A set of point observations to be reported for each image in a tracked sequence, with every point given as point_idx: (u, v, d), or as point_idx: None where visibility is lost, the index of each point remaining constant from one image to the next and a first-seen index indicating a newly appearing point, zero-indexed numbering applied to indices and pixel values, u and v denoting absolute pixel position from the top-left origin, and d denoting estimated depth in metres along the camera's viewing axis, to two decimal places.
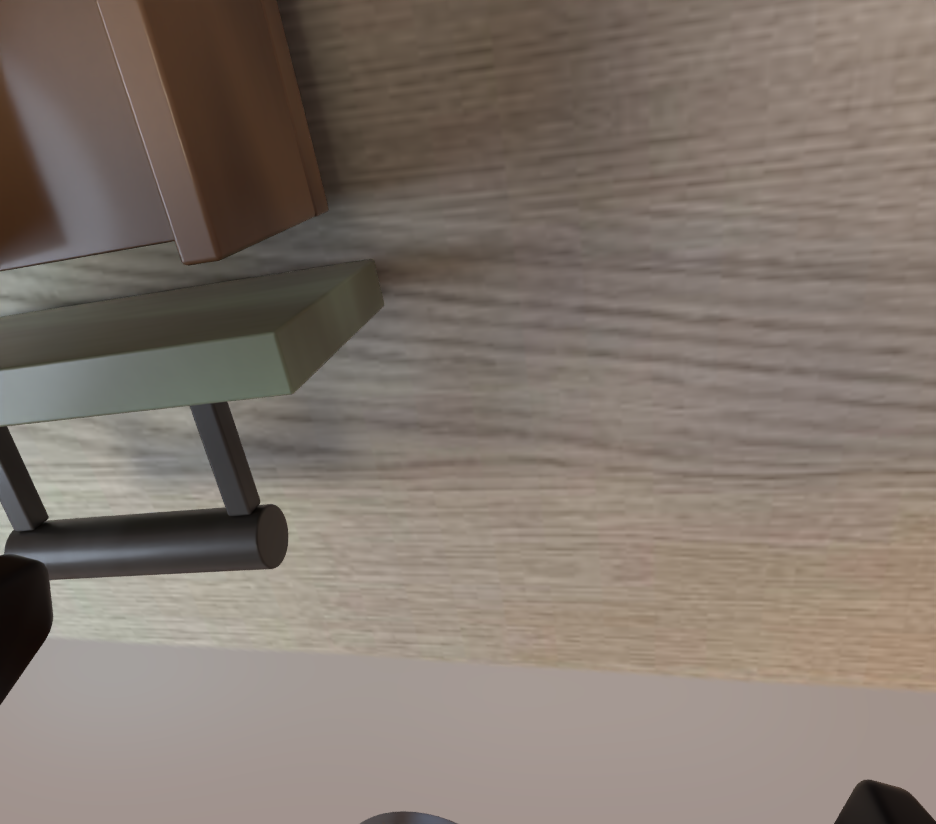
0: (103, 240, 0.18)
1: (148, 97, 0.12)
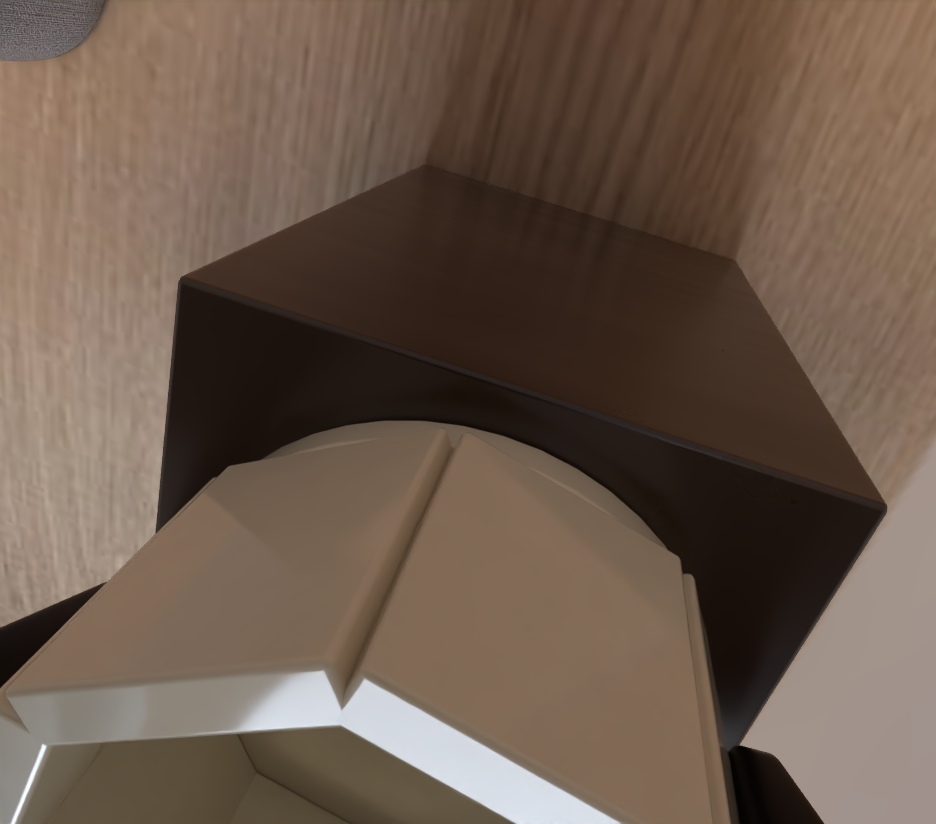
0: None
1: None
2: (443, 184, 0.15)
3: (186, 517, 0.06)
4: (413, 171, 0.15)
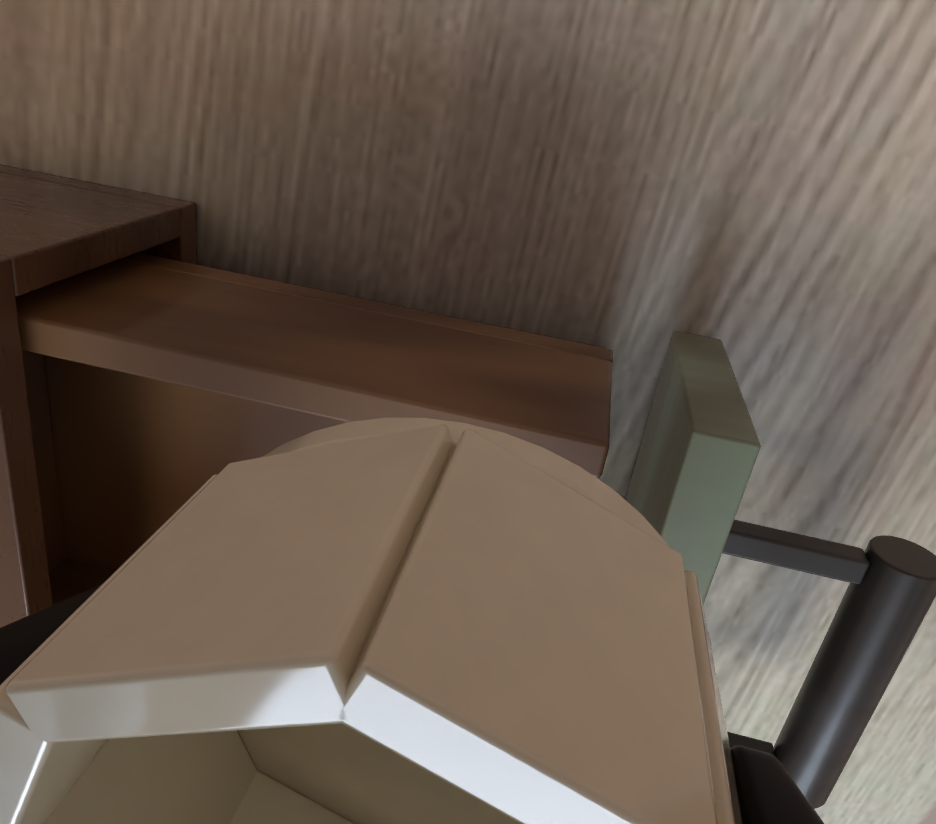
0: None
1: None
2: None
3: (187, 514, 0.06)
4: None
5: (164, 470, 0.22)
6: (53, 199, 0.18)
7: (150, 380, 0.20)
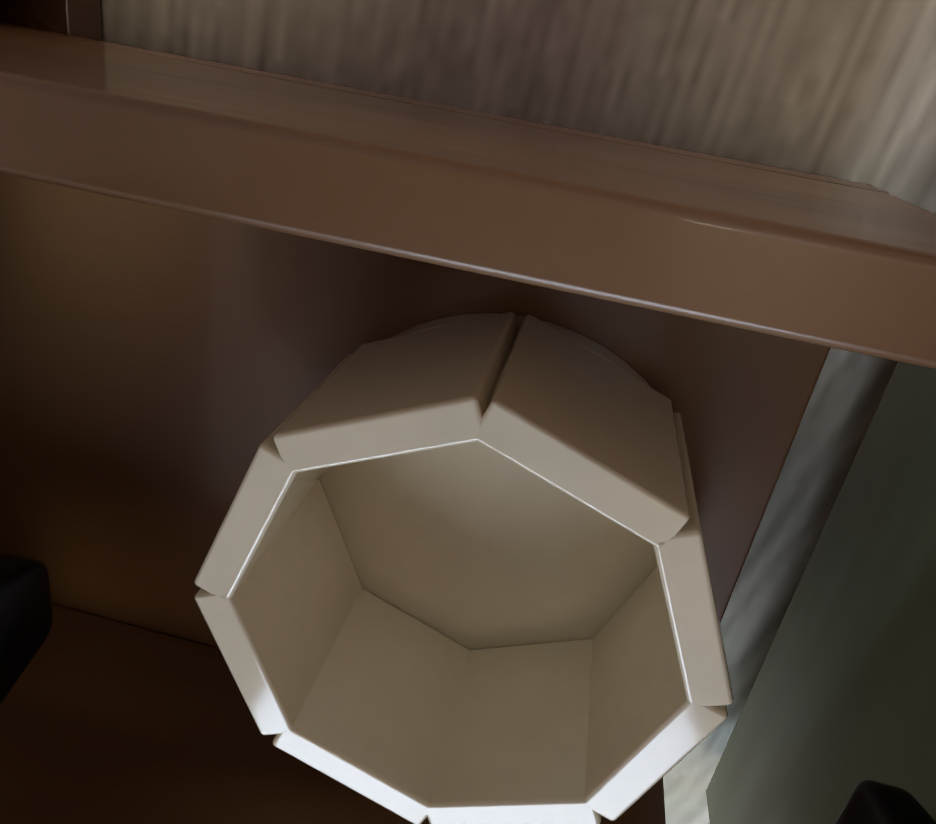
0: (725, 557, 0.11)
1: (695, 263, 0.05)
2: None
3: (345, 366, 0.10)
4: None
5: (51, 420, 0.13)
6: None
7: (17, 258, 0.12)
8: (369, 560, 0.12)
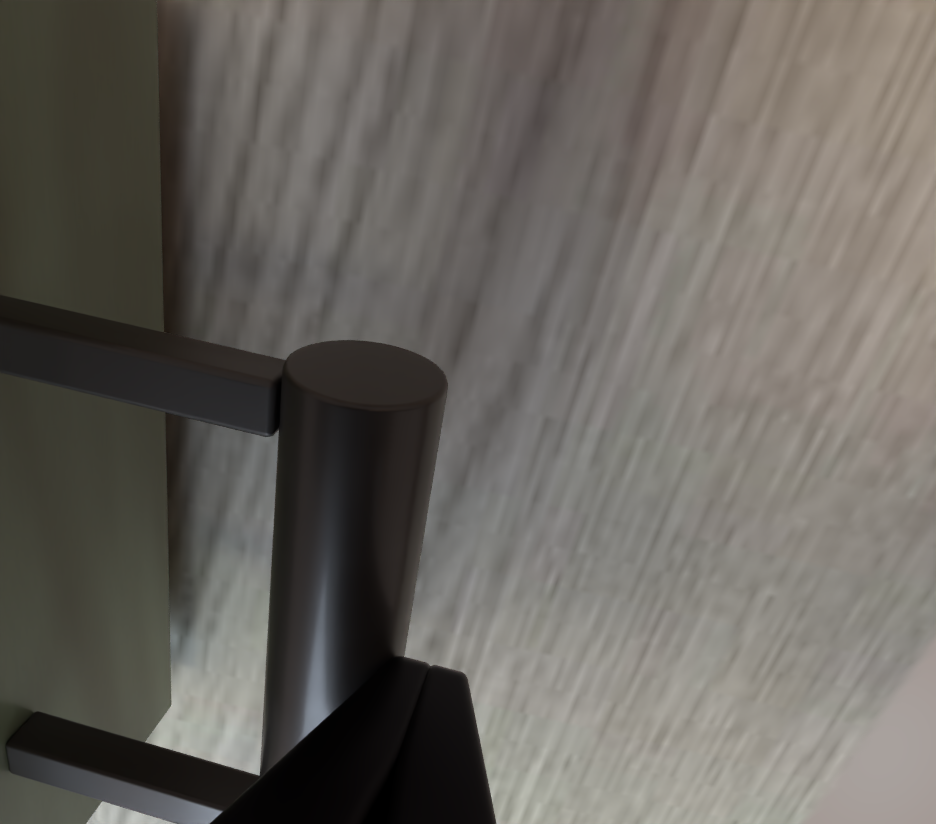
0: None
1: None
2: None
3: None
4: None
5: None
6: None
7: None
8: None
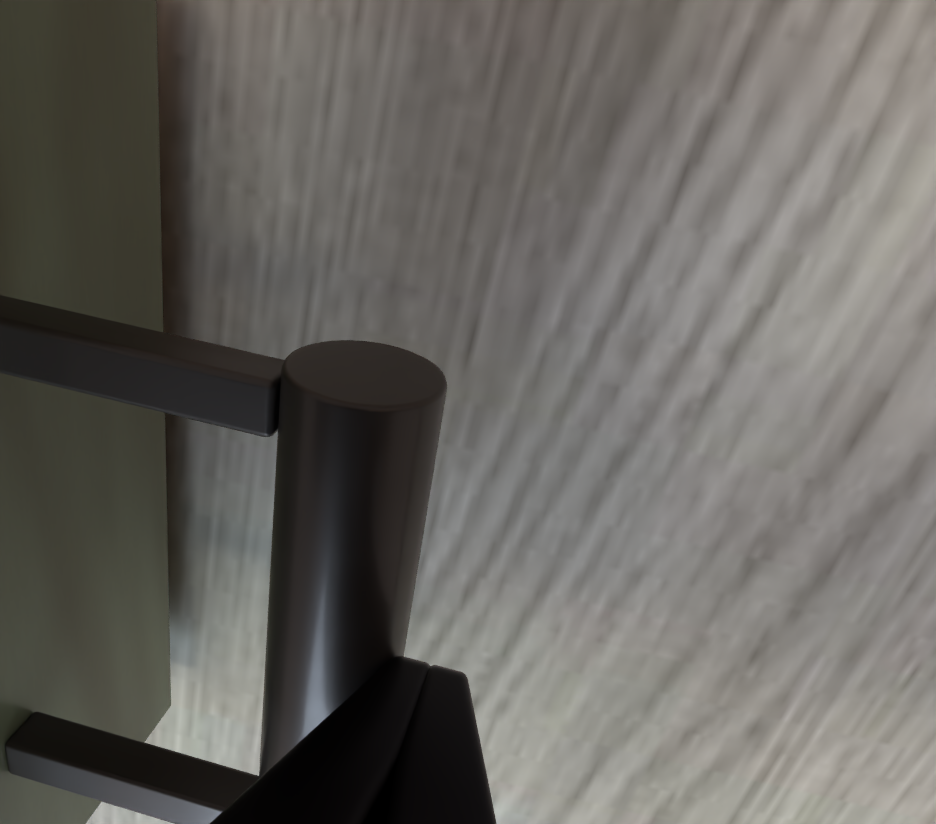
0: None
1: None
2: None
3: None
4: None
5: None
6: None
7: None
8: None
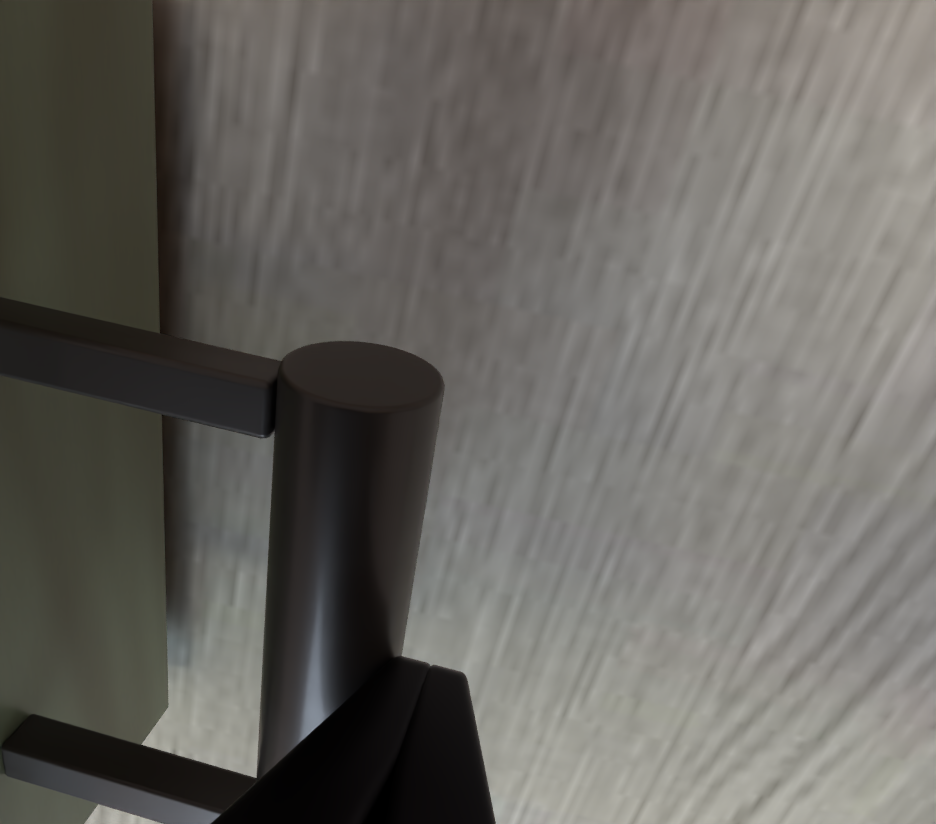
0: None
1: None
2: None
3: None
4: None
5: None
6: None
7: None
8: None
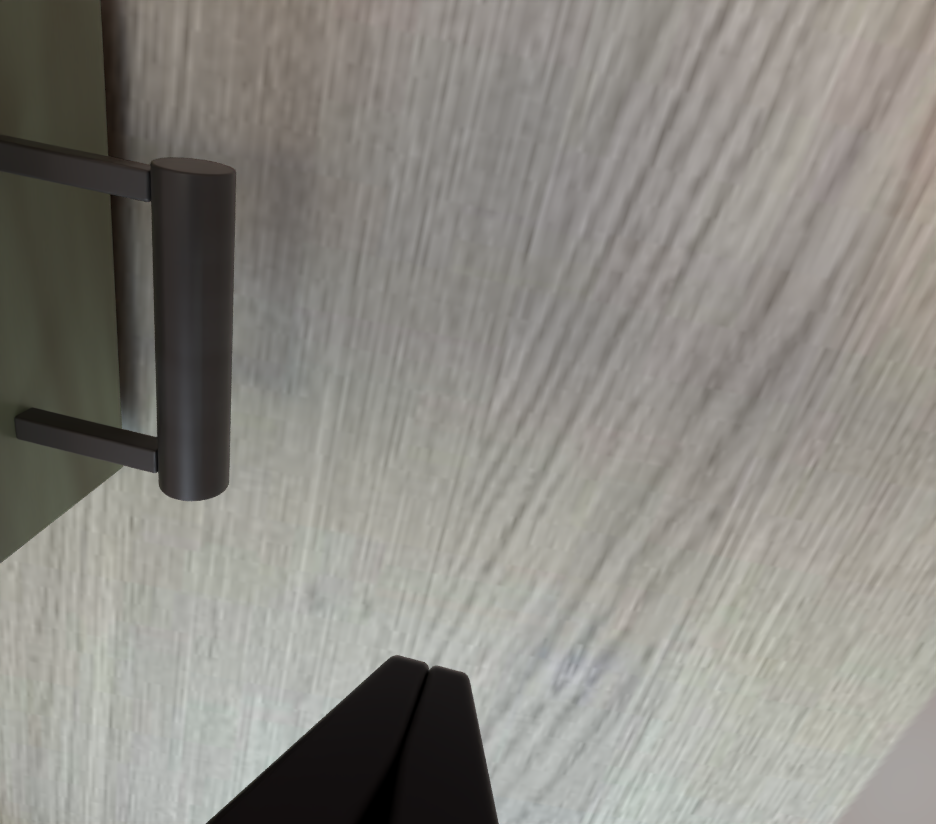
0: None
1: None
2: None
3: None
4: None
5: None
6: None
7: None
8: None
